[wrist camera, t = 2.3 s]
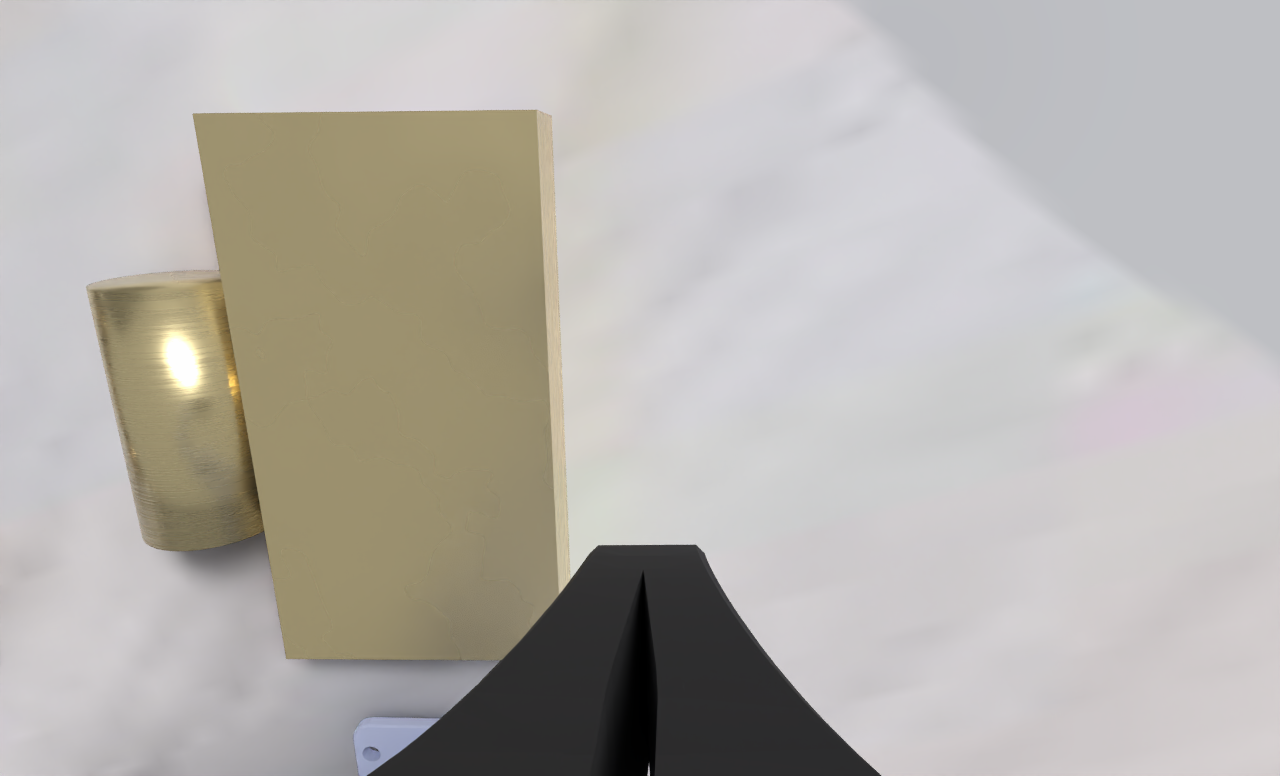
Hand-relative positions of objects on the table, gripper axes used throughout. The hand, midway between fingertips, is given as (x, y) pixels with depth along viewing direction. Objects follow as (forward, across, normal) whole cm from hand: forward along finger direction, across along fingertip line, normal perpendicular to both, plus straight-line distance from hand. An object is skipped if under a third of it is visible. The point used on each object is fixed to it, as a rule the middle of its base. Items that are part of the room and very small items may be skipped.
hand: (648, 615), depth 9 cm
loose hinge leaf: (+10, +8, 0) cm, 13 cm away
